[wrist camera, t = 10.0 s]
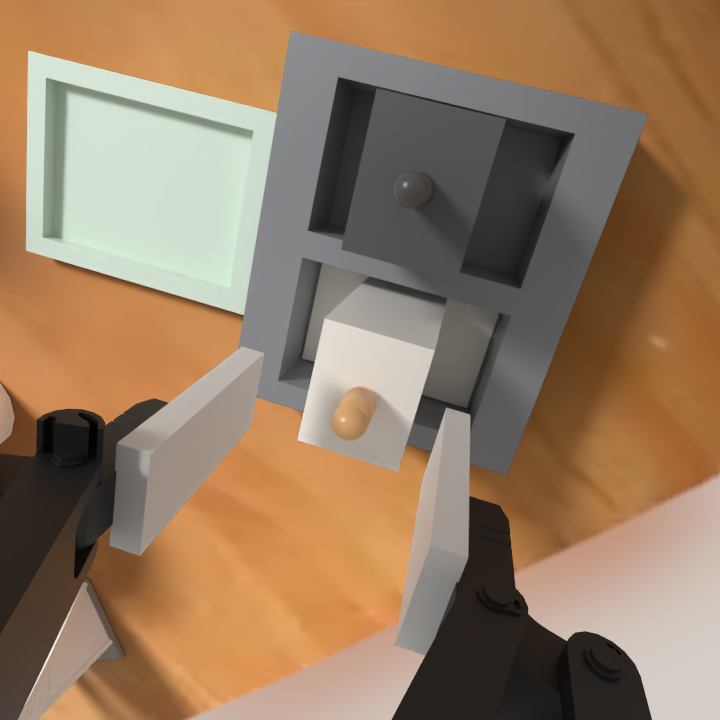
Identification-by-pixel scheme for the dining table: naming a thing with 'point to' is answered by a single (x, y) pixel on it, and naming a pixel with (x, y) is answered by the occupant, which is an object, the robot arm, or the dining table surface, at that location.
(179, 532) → the dining table surface
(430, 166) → the grey desk organizer
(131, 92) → the tray
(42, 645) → the robot arm
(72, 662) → the skyscraper
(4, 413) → the foam cup
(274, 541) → the dining table surface
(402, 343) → the white block with knob
